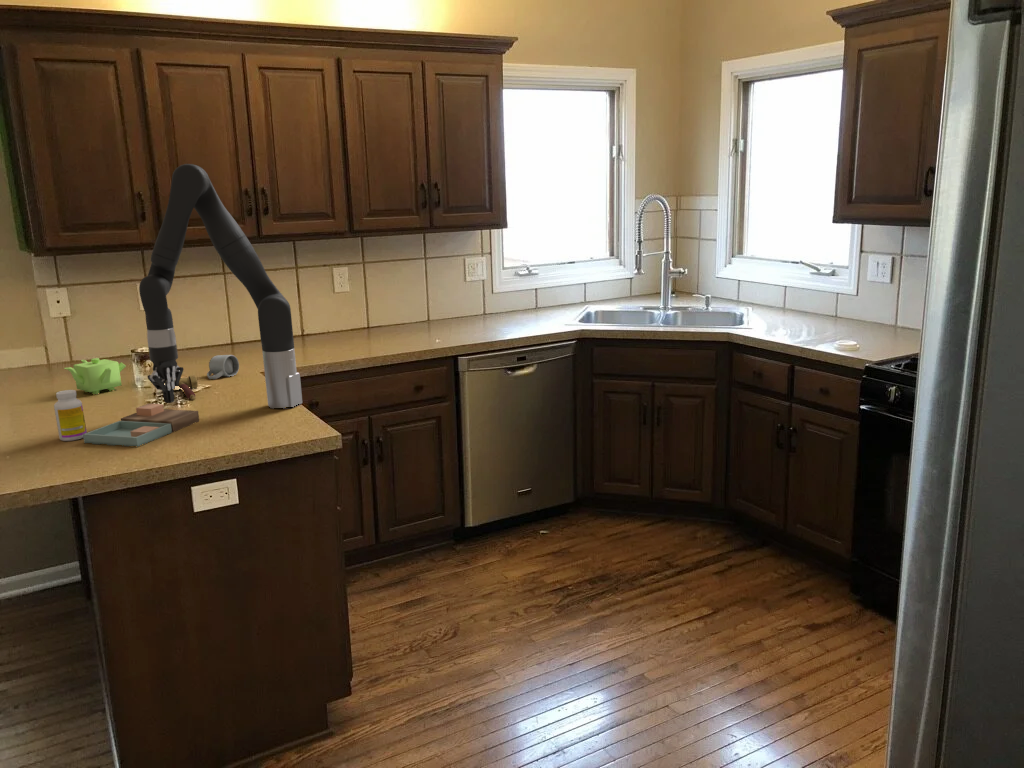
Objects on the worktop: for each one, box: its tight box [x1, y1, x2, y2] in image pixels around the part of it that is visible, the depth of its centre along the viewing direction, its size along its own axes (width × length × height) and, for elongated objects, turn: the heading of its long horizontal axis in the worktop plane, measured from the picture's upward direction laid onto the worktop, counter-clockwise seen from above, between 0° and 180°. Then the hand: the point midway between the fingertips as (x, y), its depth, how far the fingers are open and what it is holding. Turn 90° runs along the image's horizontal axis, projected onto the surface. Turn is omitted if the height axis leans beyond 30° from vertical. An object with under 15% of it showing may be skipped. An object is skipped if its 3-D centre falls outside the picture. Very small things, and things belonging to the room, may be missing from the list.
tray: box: [82, 420, 173, 448], centre depth 217 cm, size 17×13×2 cm
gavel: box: [174, 374, 199, 401], centre depth 264 cm, size 21×5×10 cm
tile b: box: [135, 403, 165, 416], centre depth 230 cm, size 5×5×2 cm
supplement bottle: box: [53, 389, 88, 442], centre depth 218 cm, size 7×7×13 cm
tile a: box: [130, 426, 159, 437], centre depth 216 cm, size 5×5×2 cm
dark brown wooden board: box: [120, 408, 200, 433], centre depth 229 cm, size 17×11×3 cm, turn 73°
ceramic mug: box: [206, 354, 240, 380], centre depth 288 cm, size 11×8×8 cm
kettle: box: [63, 357, 127, 395], centre depth 272 cm, size 15×14×11 cm
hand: (169, 402), depth 238 cm, fingers closed
